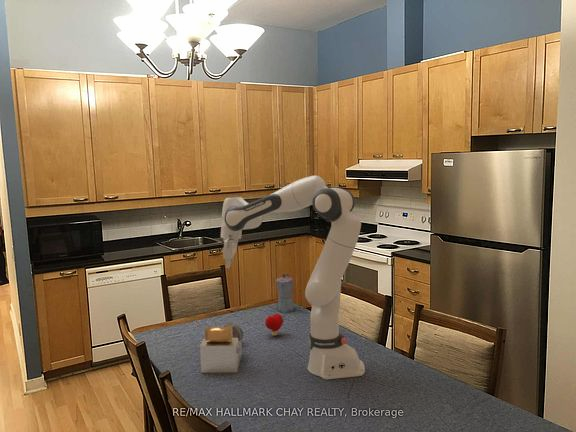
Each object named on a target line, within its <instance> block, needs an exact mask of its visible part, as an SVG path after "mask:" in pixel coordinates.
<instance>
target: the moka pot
mask: <svg viewBox="0 0 576 432" xmlns="http://www.w3.org/2000/svg"><path fill="white" fill-rule="evenodd" d="M275 282H276V288H277V294H278V303H277V304H278V305H277V311H278V312H280V313H291V312H293V311H294V310H295V305H294V300H293V288H294V278H293V277H291V276H289V274H287V273H286V274H282V276H280V277H278V278H276V279H275Z"/></svg>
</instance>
